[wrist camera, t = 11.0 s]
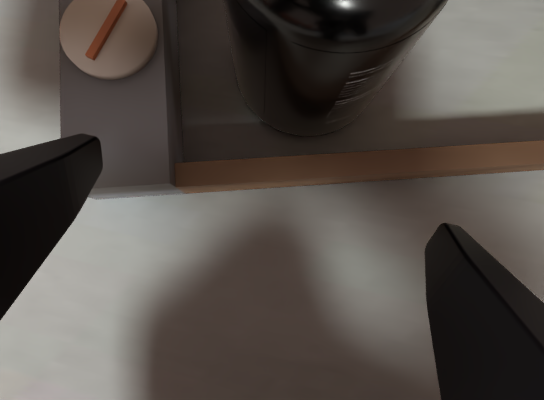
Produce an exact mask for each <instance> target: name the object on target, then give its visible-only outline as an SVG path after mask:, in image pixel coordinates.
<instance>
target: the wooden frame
mask: <svg viewBox="0 0 544 400" xmlns="http://www.w3.org/2000/svg"><path fill="white" fill-rule="evenodd" d="M59 23H60V30H59V34H60V116H61V138H65V137H68V136H72V135H76V134H80V133H84V134H88V135H92V136H96V137H98V138H99V140H100V142H101V150H102V159H103V169H102V172H101V174H100V176H99V178H98V180H97V181H96V183H95V185H94V187H93V188H92V190H91V192H90V194H89V196H88V197H89V198H93V199H109V198H125V197H140V196H155V195H170V194H185V193H200V192H215V191H231V190H246V189H261V188H276V187H291V186H306V185H322V184H337V183H352V182H367V181H382V180H397V179H412V178H428V177H443V176H458V175H473V174H488V173H503V172H519V171H534V170H544V140H541V141H525V142H508V143H492V144H476V145H460V146H444V147H427V148H411V149H395V150H379V151H362V152H346V153H330V154H314V155H298V156H281V157H265V158H249V159H233V160H216V161H200V162H184V157H183V136H182V115H181V94H180V72H179V51H178V30H177V9H176V0H59Z"/></svg>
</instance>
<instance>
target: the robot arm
mask: <svg viewBox="0 0 544 400" xmlns="http://www.w3.org/2000/svg"><path fill="white" fill-rule="evenodd" d="M102 169H103V159H102V150H101V142H100V140H99V138H98V137H96V136H92V135H88V134H84V133H80V134H76V135H72V136H68V137H65V138H61V139H57V140H53V141H49V142H45V143H42V144H38V145H34V146H30V147H26V148H22V149H19V150H15V151H11V152H7V153H3V154H0V320H1V319H2V317H3V316H4V315H5V313H6V312H7V311H8V309H9V308H10V307H11V305H12V304H13V303H14V301H15V300H16V298H17V297H18V296H19V294H20V293H21V292H22V290H23V289H24V288H25V286H26V285H27V284H28V282H29V281H30V279H31V278H32V277H33V275H34V274H35V273H36V271H37V270H38V269H39V267H40V266H41V265H42V263H43V262H44V260H45V259H46V258H47V256H48V255H49V254H50V252H51V251H52V250H53V248H54V247H55V246H56V244H57V243H58V241H59V240H60V239H61V237H62V236H63V235H64V233H65V232H66V231H67V229H68V228H69V227H70V225H71V224H72V222H73V221H74V219H75V218H76V216H77V215H78V213H79V211H80V210H81V208H82V206H83V204H84V203H85V201H86V199H87V197H88V196H89V194H90V192H91V190H92V188H93V187H94V185H95V183H96V181H97V180H98V178H99V176H100V174H101V172H102ZM425 276H426V301H427V310H428V317H429V323H430V330H431V336H432V343H433V349H434V356H435V362H436V369H437V375H438V382H439V388H440V395H441V400H544V303H543V302H542V301H541V300H540V299H538V298H537V297H536V296H535V295H534V294H533V293H532V292H531V291H530V290H529V289H528V288H526V287H525V286H524V285H523V284H522V283H521V282H520V281H519V280H518V279H517V278H516V277H514V276H513V275H512V274H511V273H510V272H509V271H508V270H507V269H506V268H505V267H504V266H502V265H501V264H500V263H499V262H498V261H497V260H496V259H495V258H494V257H493V256H492V255H490V254H489V253H488V252H487V251H486V250H485V249H484V248H483V247H482V246H481V245H479V244H478V243H477V242H476V241H475V240H474V239H473V238H472V237H471V236H470V235H469V234H467V233H466V232H465V231H464V230H463V229H462V228H461V227H459V226H457V225H453V224H449V223H442V224H441V225H440V226H439V227H438V228H437V230H436V231H435V233H434V234H433V236H432V237H431V239H430V240H429V242H428V243H427V245H426V248H425Z"/></svg>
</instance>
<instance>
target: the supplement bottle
mask: <svg viewBox="0 0 544 400" xmlns="http://www.w3.org/2000/svg"><path fill="white" fill-rule="evenodd" d="M223 1H224V7H225V14H226V20H227V26H228V33H229V39H230V45H231V51H232V58H233V64H234V69H235V74H236V79H237V83H238V86H239V89H240V91H241V94H242V96H243V98H244V100H245V101H246V103H247V104H248V106H249V107H250V109H251V110H252V111H253V112H254V113H255V114H256V115H257V116H258V117H259V118H260V119H261V120H263V121H264V122H265V123H267V124H269V125H270V126H272V127H274V128H276V129H278V130H280V131H283V132H285V133H289V134H293V135H299V136H316V135H323V134H327V133H330V132H334V131H336V130H338V129H340V128H342V127H344V126H346V125H347V124H349V123H350V122H352V121H353V120H354V119H355V118H356V117H358V116H359V115H360V114H361V113H362V112H363V110H364V109H365V108H366V107H367V106H368V104H369V103H370V102H371V101H372V99H373V98H374V97H375V96H376V94H377V93H378V92H379V90H380V89H381V88H382V87H383V85H384V84H385V83H386V81H387V80H388V79H389V77H390V76H391V75H392V74H393V72H394V71H395V70H396V68H397V67H398V66H399V64H400V63H401V62H402V61H403V59H404V58H405V57H406V55H407V54H408V53H409V51H410V50H411V49H412V48H413V46H414V45H415V44H416V42H417V41H418V40H419V39H420V37H421V36H422V35H423V33H424V32H425V31H426V29H427V28H428V27H429V26H430V24H431V23H432V22H433V20H434V19H435V18H436V16H437V15H438V14H439V13H440V11H441V10H442V9H443V7H444V6H445V5H446V3H447V1H448V0H223Z"/></svg>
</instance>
